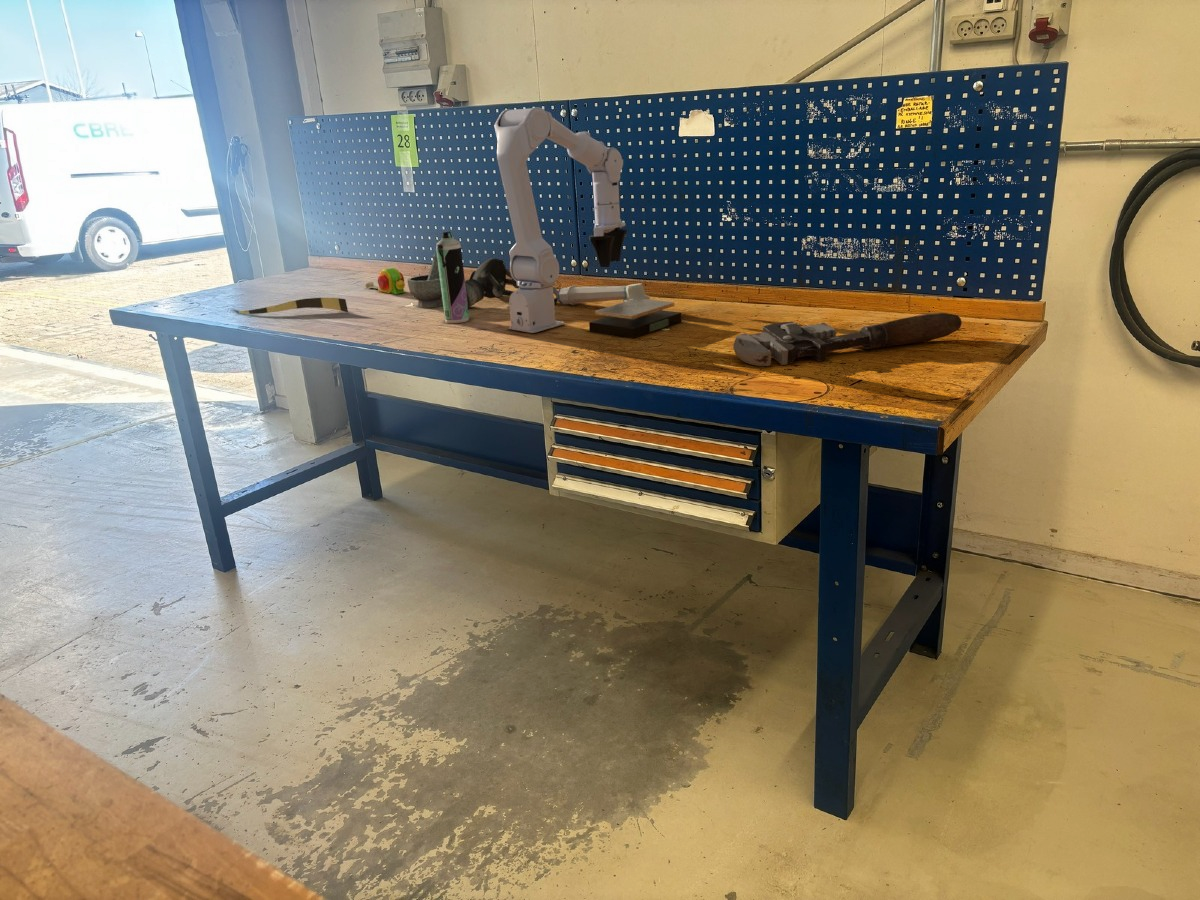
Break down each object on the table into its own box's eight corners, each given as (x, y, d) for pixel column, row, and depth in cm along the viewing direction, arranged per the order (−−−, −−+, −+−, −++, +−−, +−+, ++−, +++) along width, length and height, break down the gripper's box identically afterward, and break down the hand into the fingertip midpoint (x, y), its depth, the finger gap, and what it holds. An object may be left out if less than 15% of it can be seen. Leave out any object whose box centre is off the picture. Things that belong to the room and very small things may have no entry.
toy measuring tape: (393, 296, 229) (389, 271, 227) (359, 289, 243) (355, 266, 240) (414, 292, 233) (410, 268, 230) (379, 285, 246) (375, 262, 244)
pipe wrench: (752, 378, 145) (753, 351, 142) (721, 352, 156) (721, 326, 153) (967, 340, 154) (972, 314, 152) (924, 318, 165) (927, 293, 163)
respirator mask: (481, 282, 224) (509, 237, 216) (543, 335, 223) (573, 291, 215) (442, 297, 206) (471, 249, 199) (508, 355, 205) (540, 308, 198)
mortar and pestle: (431, 310, 208) (424, 260, 204) (403, 308, 213) (396, 259, 209) (461, 301, 217) (455, 253, 213) (433, 299, 222) (427, 252, 218)
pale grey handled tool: (567, 285, 207) (651, 277, 191) (572, 312, 209) (655, 306, 193) (553, 289, 203) (637, 281, 187) (558, 316, 205) (642, 311, 189)
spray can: (464, 323, 193) (453, 232, 185) (441, 323, 194) (430, 233, 186) (472, 317, 198) (462, 229, 190) (450, 318, 199) (439, 230, 191)
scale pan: (632, 323, 171) (631, 315, 170) (595, 318, 177) (595, 310, 176) (674, 309, 180) (674, 302, 180) (638, 305, 186) (638, 298, 186)
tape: (336, 318, 208) (333, 303, 206) (214, 315, 221) (211, 300, 219) (350, 312, 213) (347, 297, 211) (231, 309, 226) (227, 295, 224)
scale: (635, 338, 170) (634, 328, 169) (589, 331, 178) (588, 322, 177) (683, 322, 181) (682, 312, 180) (638, 316, 189) (637, 307, 188)
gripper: (613, 206, 185) (617, 269, 190) (632, 199, 198) (635, 258, 203) (583, 207, 187) (587, 269, 192) (604, 200, 200) (607, 258, 205)
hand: (610, 264), depth 198 cm, fingers open, 7 cm apart
